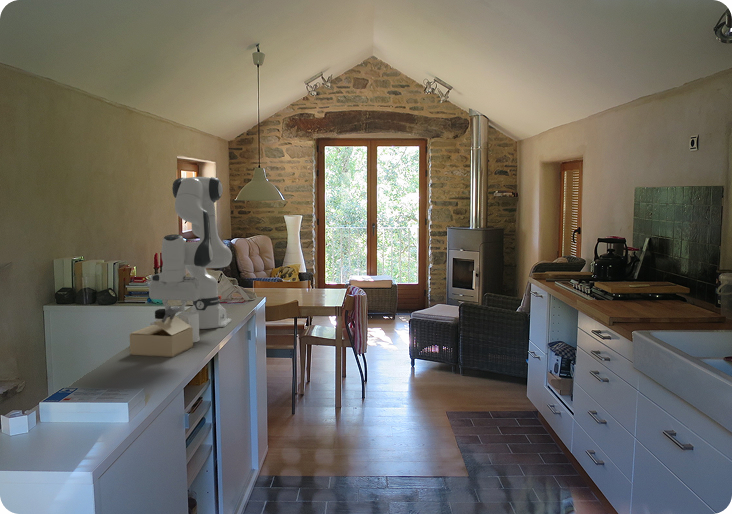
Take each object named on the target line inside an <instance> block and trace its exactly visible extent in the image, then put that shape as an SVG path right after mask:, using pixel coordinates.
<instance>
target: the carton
mask: <svg viewBox="0 0 732 514" xmlns="http://www.w3.org/2000/svg"><path fill="white" fill-rule="evenodd" d="M193 347H194V343H193V329H192V328H188V329H186V330H184V331H181V332H179V333H177V334H174V335H172V336H171V335H170V334H168V333H167V332H166V331H164V330H163V329H162V328H160V327H159V326H157V325H151V326H150V325H149V326H146V327H143V328H141V329H138V330H135V331H132V332H130V334H129V354H130V356H132V355H133V356H147V357H148V356H149V357H165V358H173V357H174V358H175V357H176V356H178V355H180V354H182V353H184V352H186V351H188V350H190V349H192V348H193Z"/></svg>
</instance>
